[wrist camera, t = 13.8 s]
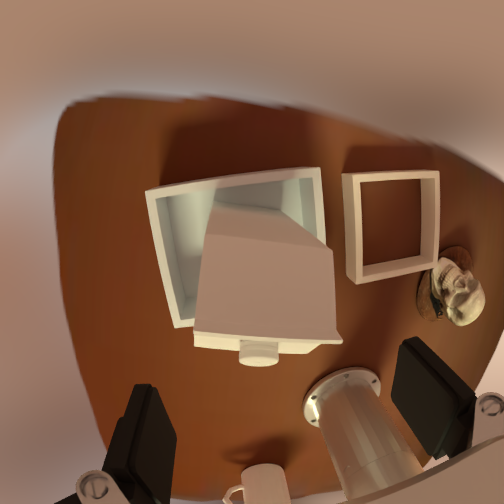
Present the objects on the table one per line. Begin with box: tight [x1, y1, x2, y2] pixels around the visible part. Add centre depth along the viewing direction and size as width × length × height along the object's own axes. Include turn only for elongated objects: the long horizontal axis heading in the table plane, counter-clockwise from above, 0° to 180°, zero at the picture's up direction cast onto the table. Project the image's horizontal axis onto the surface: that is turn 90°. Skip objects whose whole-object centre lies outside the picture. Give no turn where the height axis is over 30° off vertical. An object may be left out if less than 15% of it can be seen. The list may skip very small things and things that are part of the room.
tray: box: [341, 170, 440, 285], centre depth 32 cm, size 12×12×3 cm
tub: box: [145, 167, 326, 328], centre depth 29 cm, size 13×15×6 cm
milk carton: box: [193, 201, 343, 366], centre depth 22 cm, size 7×7×19 cm
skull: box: [417, 246, 485, 326], centre depth 36 cm, size 12×10×10 cm
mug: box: [223, 464, 291, 504], centre depth 40 cm, size 8×12×10 cm, turn 75°
